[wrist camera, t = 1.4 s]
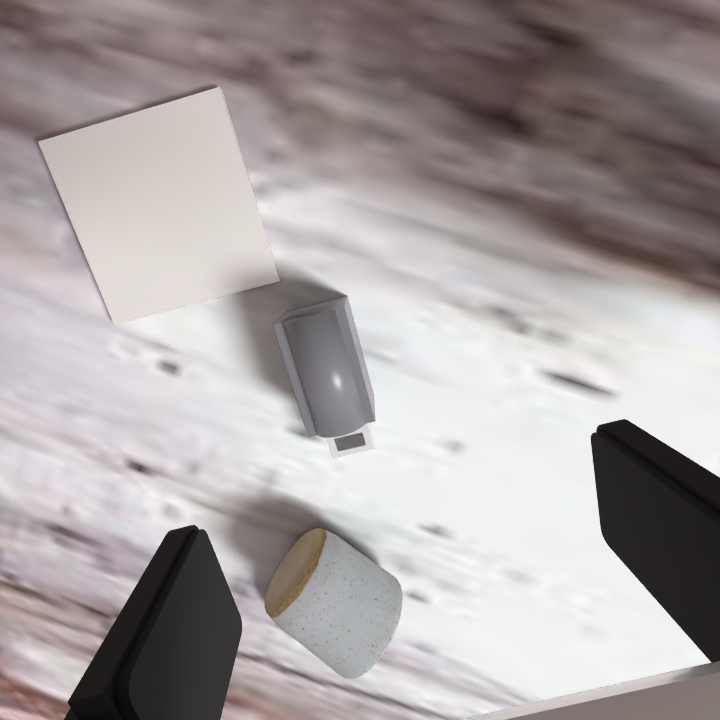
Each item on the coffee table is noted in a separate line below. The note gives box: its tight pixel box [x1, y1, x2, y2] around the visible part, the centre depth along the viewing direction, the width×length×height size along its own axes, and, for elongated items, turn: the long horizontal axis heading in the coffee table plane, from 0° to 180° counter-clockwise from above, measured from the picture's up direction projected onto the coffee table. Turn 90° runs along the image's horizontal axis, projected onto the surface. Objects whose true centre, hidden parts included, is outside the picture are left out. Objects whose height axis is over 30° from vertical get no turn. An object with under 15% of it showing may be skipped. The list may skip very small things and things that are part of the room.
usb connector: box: [273, 296, 375, 458], centre depth 29 cm, size 4×10×6 cm, turn 15°
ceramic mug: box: [265, 528, 402, 679], centre depth 33 cm, size 11×8×8 cm
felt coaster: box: [38, 87, 280, 325], centre depth 29 cm, size 12×12×1 cm
